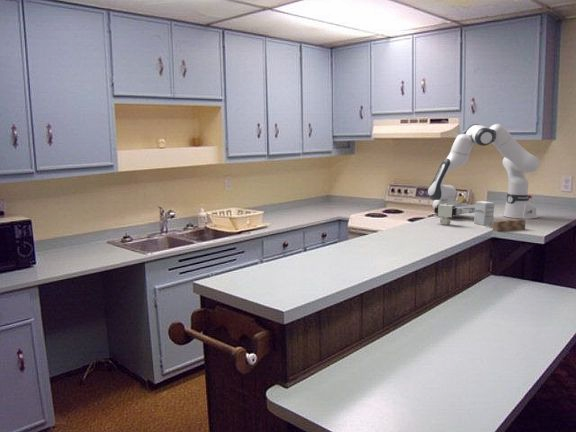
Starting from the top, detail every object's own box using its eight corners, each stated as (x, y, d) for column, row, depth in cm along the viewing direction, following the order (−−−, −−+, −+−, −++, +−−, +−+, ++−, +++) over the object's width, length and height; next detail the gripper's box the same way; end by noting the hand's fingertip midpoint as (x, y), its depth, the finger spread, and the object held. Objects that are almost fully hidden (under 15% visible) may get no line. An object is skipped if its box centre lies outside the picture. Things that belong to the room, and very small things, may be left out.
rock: (475, 207, 340) (462, 204, 347) (473, 198, 335) (459, 194, 342) (466, 218, 336) (453, 214, 343) (463, 209, 331) (450, 205, 338)
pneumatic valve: (454, 226, 281) (456, 204, 280) (433, 223, 287) (434, 202, 285) (457, 224, 286) (458, 203, 284) (436, 222, 292) (437, 201, 290)
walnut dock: (507, 225, 287) (508, 216, 286) (524, 229, 276) (525, 219, 276) (480, 227, 279) (480, 218, 278) (496, 231, 268) (497, 221, 268)
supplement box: (473, 223, 292) (475, 201, 290) (482, 222, 295) (484, 200, 293) (483, 225, 285) (485, 203, 283) (493, 224, 289) (495, 202, 287)
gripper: (440, 203, 307) (456, 207, 294) (467, 202, 315) (483, 205, 303) (439, 214, 308) (455, 217, 295) (466, 212, 316) (483, 216, 304)
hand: (470, 211), depth 299 cm, fingers closed
